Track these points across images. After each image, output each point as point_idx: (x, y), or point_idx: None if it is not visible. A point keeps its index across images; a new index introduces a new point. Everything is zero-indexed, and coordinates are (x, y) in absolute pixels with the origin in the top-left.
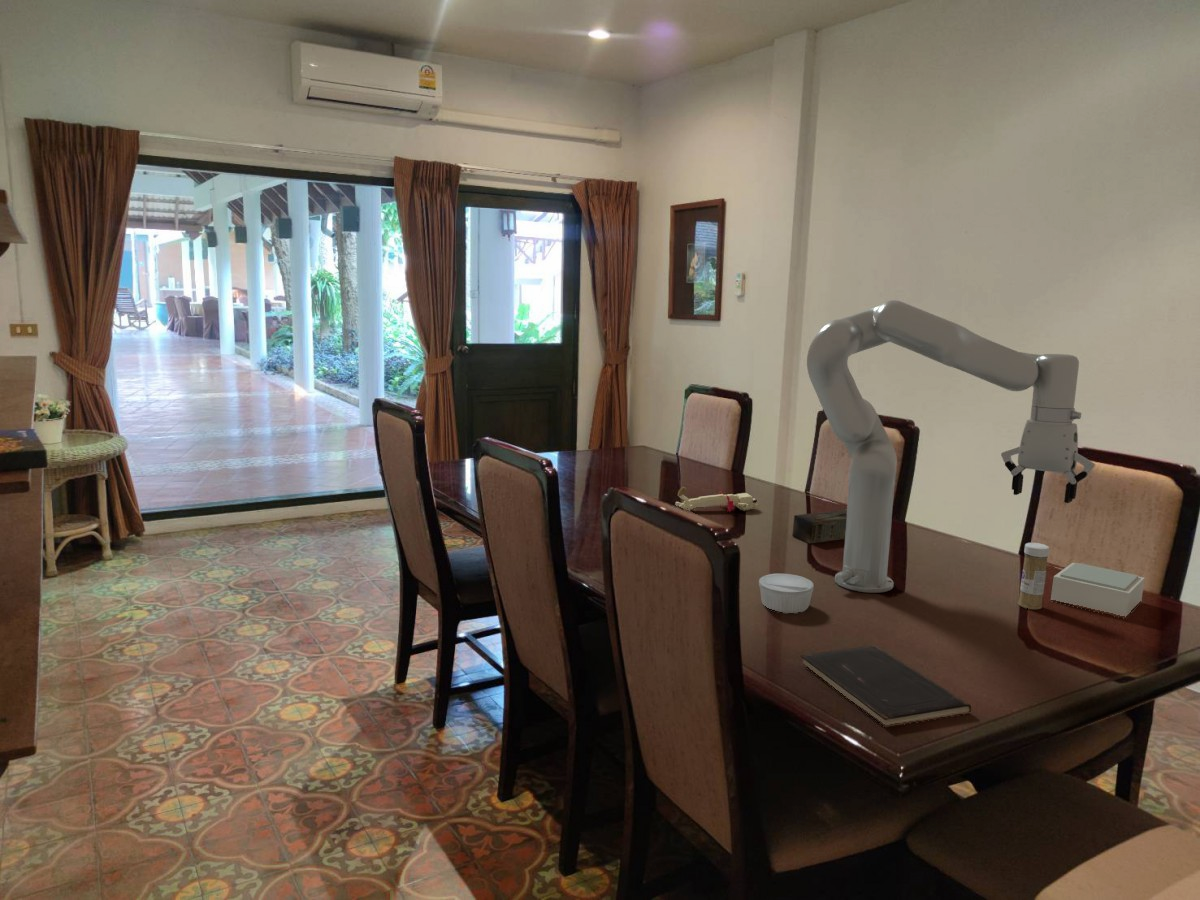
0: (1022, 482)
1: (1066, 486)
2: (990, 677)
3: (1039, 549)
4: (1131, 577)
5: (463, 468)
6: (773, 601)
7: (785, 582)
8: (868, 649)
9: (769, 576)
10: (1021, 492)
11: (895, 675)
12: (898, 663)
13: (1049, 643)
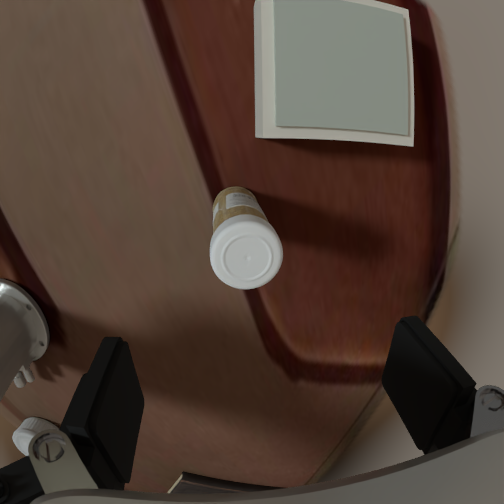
0: (110, 389)
1: (416, 442)
2: (282, 452)
3: (263, 284)
4: (398, 38)
5: None
6: None
7: None
8: (184, 486)
9: (19, 446)
10: (126, 342)
11: None
12: (218, 490)
13: (311, 349)
